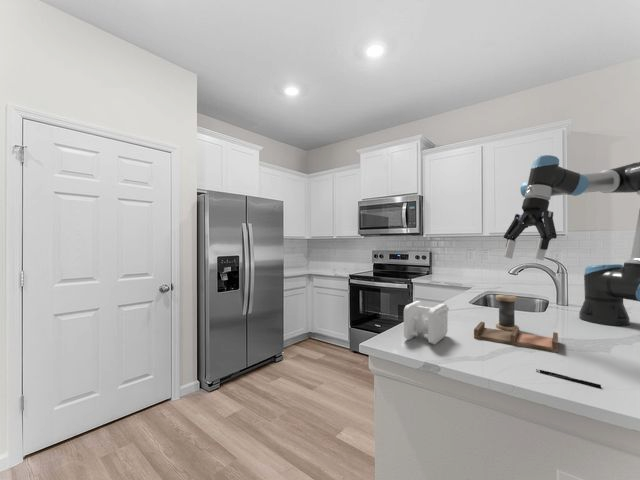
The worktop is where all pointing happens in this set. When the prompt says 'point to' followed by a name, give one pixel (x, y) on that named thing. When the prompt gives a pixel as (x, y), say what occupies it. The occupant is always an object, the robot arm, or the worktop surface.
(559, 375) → the black pen
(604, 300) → the robot arm
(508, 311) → the cord spool
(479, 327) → the slot cradle
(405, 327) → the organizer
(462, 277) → the worktop surface
